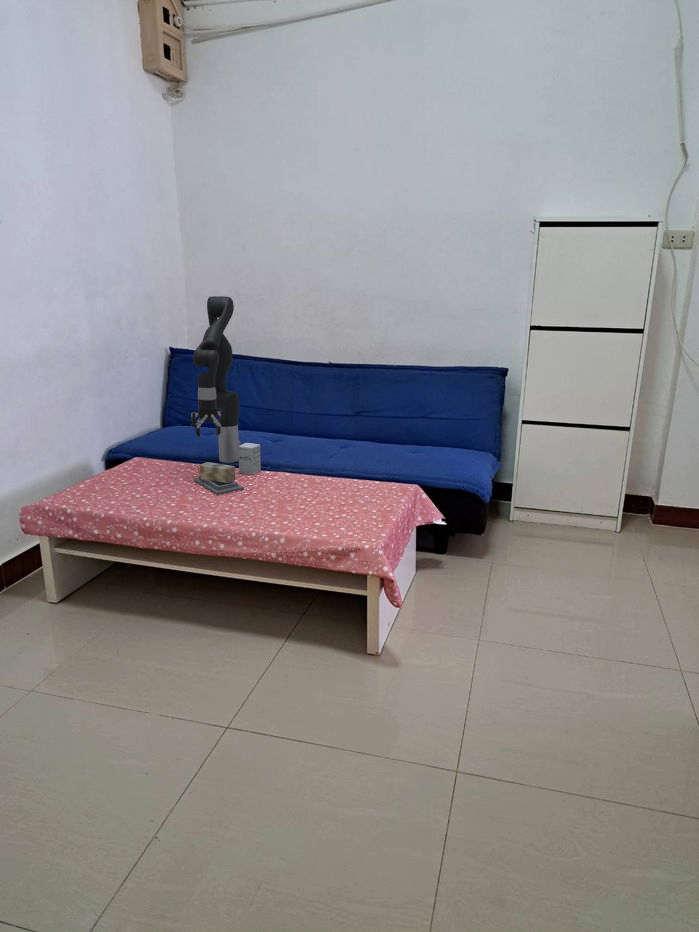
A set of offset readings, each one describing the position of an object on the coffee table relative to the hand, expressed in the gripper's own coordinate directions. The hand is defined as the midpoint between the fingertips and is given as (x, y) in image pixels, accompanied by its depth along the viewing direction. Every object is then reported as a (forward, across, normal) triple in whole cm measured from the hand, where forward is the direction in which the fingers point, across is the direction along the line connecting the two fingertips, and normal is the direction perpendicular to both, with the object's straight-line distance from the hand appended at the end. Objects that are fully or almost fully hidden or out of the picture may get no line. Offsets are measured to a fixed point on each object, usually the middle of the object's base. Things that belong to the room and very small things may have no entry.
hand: (208, 435), depth 281 cm
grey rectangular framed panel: (+19, 0, +11) cm, 22 cm away
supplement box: (+18, -19, 0) cm, 27 cm away
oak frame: (+17, 0, +11) cm, 20 cm away
